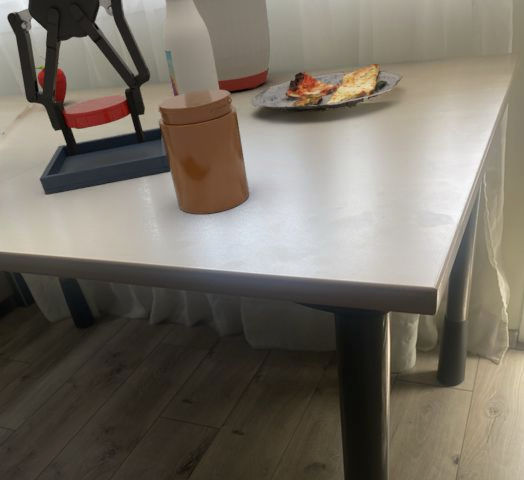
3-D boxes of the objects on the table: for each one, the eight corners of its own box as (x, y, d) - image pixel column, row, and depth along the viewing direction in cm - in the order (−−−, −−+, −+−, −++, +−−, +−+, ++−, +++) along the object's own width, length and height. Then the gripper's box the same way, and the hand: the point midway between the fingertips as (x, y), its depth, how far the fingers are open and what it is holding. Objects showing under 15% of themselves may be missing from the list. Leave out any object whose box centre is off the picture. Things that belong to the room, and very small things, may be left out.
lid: (54, 127, 72) (48, 113, 71) (104, 108, 77) (100, 95, 76) (93, 129, 67) (88, 114, 66) (144, 109, 72) (141, 95, 71)
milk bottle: (230, 109, 93) (208, -30, 81) (209, 122, 88) (182, -24, 76) (193, 110, 97) (167, -23, 85) (171, 123, 91) (139, -17, 79)
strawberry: (47, 111, 116) (28, 60, 110) (48, 105, 122) (31, 56, 116) (74, 105, 117) (57, 54, 111) (74, 99, 123) (58, 51, 117)
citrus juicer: (197, 85, 116) (176, -26, 104) (276, 73, 114) (264, -41, 102) (187, 101, 103) (161, -23, 92) (275, 89, 101) (260, -40, 90)
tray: (45, 194, 69) (39, 178, 68) (63, 160, 82) (58, 146, 80) (171, 170, 70) (167, 154, 69) (169, 140, 82) (166, 126, 81)
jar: (179, 219, 56) (154, 114, 50) (177, 193, 62) (155, 97, 56) (253, 205, 56) (237, 99, 50) (244, 181, 63) (229, 84, 56)
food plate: (286, 87, 102) (284, 66, 99) (411, 78, 93) (411, 56, 91) (234, 125, 84) (230, 102, 82) (382, 119, 75) (382, 92, 73)
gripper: (-59, -39, 57) (26, 169, 71) (137, -73, 58) (184, 139, 72) (-38, -38, 63) (36, 153, 77) (140, -69, 64) (183, 126, 78)
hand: (108, 146), depth 74 cm, fingers closed on lid, 9 cm apart
